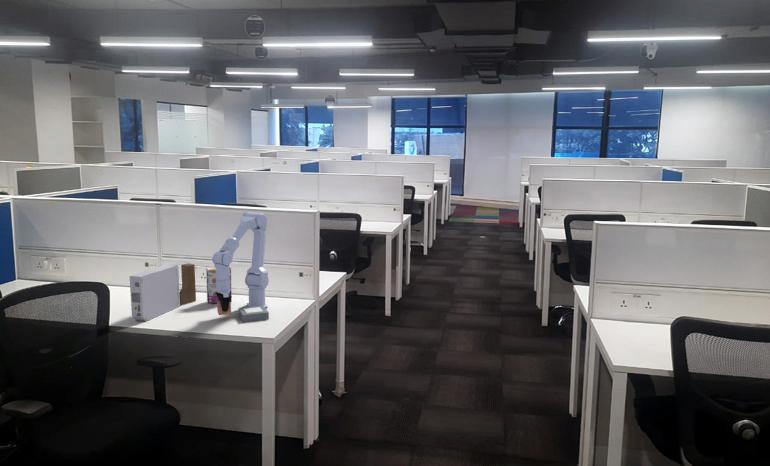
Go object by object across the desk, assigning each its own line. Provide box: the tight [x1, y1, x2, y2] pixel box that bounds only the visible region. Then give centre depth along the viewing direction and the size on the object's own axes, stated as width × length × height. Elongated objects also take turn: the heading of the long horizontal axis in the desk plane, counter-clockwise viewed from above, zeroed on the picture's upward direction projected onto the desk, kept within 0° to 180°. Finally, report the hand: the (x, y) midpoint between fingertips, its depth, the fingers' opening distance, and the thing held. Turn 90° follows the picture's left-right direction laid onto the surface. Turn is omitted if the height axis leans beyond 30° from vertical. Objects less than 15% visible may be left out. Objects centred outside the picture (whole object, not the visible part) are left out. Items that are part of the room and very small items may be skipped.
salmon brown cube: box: [216, 301, 232, 316], centre depth 262 cm, size 5×5×5 cm
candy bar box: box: [205, 266, 233, 304], centre depth 288 cm, size 11×5×16 cm, turn 111°
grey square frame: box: [237, 306, 270, 323], centre depth 264 cm, size 11×11×3 cm
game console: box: [129, 263, 181, 322], centre depth 267 cm, size 6×27×20 cm, turn 164°
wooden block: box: [179, 263, 197, 306], centre depth 286 cm, size 9×4×18 cm, turn 147°
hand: (224, 309), depth 262 cm, fingers closed on salmon brown cube, 5 cm apart
